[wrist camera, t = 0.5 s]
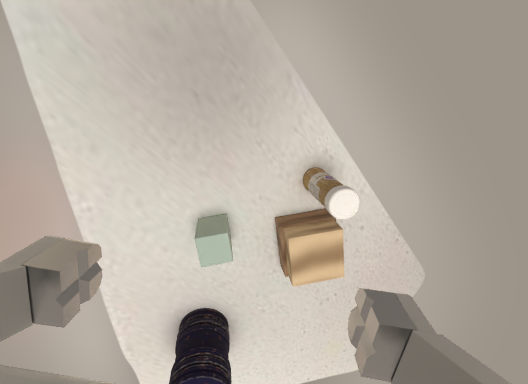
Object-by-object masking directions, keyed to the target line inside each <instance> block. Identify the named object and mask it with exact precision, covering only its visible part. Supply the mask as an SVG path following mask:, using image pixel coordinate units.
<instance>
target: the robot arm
mask: <svg viewBox="0 0 528 384" xmlns="http://www.w3.org/2000/svg"><path fill="white" fill-rule="evenodd" d="M101 257H102V254H101V247H100V246H99V245H98V244H94V243H89V242H84V241H78V240H73V239H68V238H67V239H66V238H62V237H56V236H45V237H43V238H41V239H40V240H38V241H36V242H34V243H33V244H31V245H29V246H28V247H26V248H24V249H23V250H21V251H19V252H17V253H16V254H14V255H12V256H10V257H9V258H7V259H6V260H4V261H2V262H0V342H1V341H2V340H4V339H6V338H8V337H10V336H12V335H14V334H16V333H18V332H20V331H22V330H24V329H25V328H27V327H29V326H31V325H32V323H34V324H42V325H50V326H56V327H65V326H66V325H67V323H69V322H70V320H71V319H72V318H73V317H74V316H75V315H76V314H77V313H78V312H79V311H80V304H81V303H84V302H86V301H88V300H90V299H91V298H92V297H93V296H94V295H95V293H96V292H97V290H98V288H99V286H100V283H101V279H102V269H101V267H100V266H99V265H98V263H97V262H98V261H99V259H100V258H101ZM355 301H356V304H357V306H356V307H355V308H354V309H352V310H351V313H350V316H349V321H348V333H349V338H350V342H351V344H352V345H353V346H354V347H355V348H356V349H357V350H356V353H355V359H356V362H357V365H358V368H359V372H360V375H361V376H362V377H367V378H373V379H378V380H383V381H388V382H391V384H511V383H509V382H508V381H506V380H505V379H504V378H502V377H501V376H499V375H498V374H496V373H495V372H494V371H492V370H491V369H489V368H488V367H487V366H485V365H484V364H482V363H481V362H480V361H478V360H477V359H475V358H474V357H473V356H471V355H469V354H468V353H467V352H466V351H464V350H463V349H461V348H460V347H459V346H457V345H456V344H454V343H453V342H451V341H450V340H449V339H447V338H446V337H444V336H443V335H439V334H436V332H435V331H434V329H433V328H432V326H431V325H430V323H429V322H428V320H427V319H426V317H425V316H424V315H423V313H422V311H421V310H420V308H419V307H418V306H417V304H416V303H415V301H414V300H413V298H412V297H411V296H409V295H408V294H400V293H391V292H384V291H377V290H370V289H363V288H359V290H358V291H357V293H356V296H355ZM0 384H114V383H108V382H102V381H96V380H89V379H83V378H77V377H71V376H64V375H59V374H53V373H47V372H40V371H34V370H28V369H22V368H16V367H9V366H4V365H0Z"/></svg>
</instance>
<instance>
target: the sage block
mask: <svg viewBox="0 0 528 384" xmlns="http://www.w3.org/2000/svg"><path fill="white" fill-rule="evenodd" d="M195 243H196V247H197V251H198V256H199V260H200V264H201V267H206V266H211V265H217V264H222V263H227V262H232V261H233V255H232V244H231V236H230V230H229V225H228V219H227V214H221V215H215V216H210V217H204V218H198V223H197V228H196V234H195Z"/></svg>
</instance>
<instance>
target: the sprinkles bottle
mask: <svg viewBox="0 0 528 384" xmlns="http://www.w3.org/2000/svg"><path fill="white" fill-rule="evenodd" d="M303 184H304V187H305V188H306V189H307V190H308V191H310V193H311V194H312V195H313V196H314V197H315V198H316V199H317V200H318V201H319V202H320V203H321V204H322V205H324V206H325V208H326V209H327V211H328V212H329V213H330V214H331V215H332V216H333V217H335V218H337V219H348V218H350V217H352V216H353V215H354V214H355V213H356V212H357V211H358V208H359V205H360V199H359V196H358V194H357V193H356V192H355V191H354V190H353V189H351V188H350V187H348V186H344V185H343V184H341V183H340V182H338V181H337V180H336V179H335V178H333V177H332V176H330V175H329V174H327V173H326V172H325V171H324V170H322V169H320V168H312V169H310V170H308V171H307V172H306V174H305V175H304V178H303Z"/></svg>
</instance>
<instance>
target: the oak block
mask: <svg viewBox="0 0 528 384" xmlns="http://www.w3.org/2000/svg"><path fill="white" fill-rule="evenodd" d="M283 233H284V243H285V253H286V263H287V273H288V276H289V278H290V281H291V283H292V286H299V285H304V284H309V283H314V282H319V281H325V280H330V279H335V278H340V277H344V252H343V229H342V228H341V227H340V226H339V225H338V224H337V223H336V222H335V221H334V220H328V221H322V222H316V223H310V224H304V225H298V226H292V227H286V228H283Z"/></svg>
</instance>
